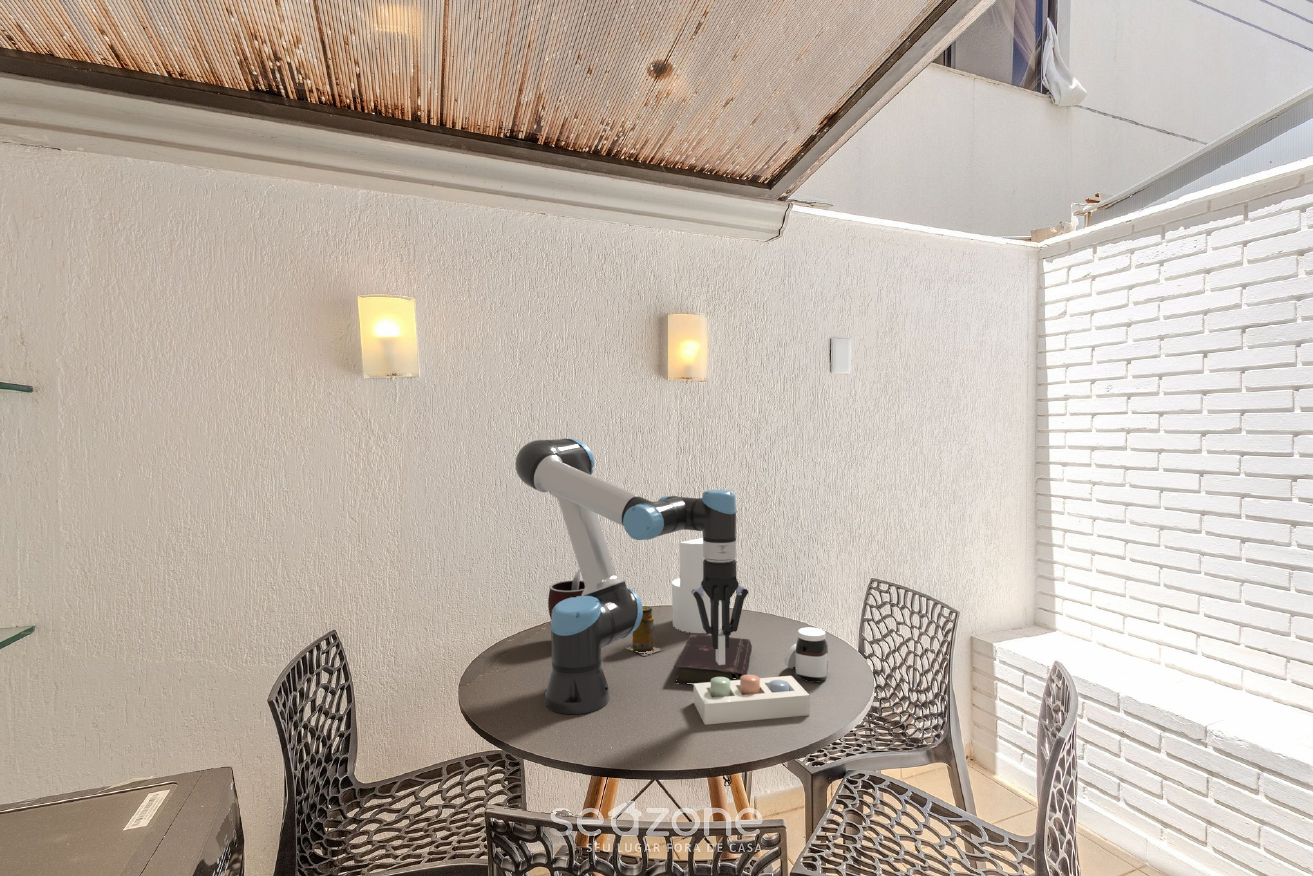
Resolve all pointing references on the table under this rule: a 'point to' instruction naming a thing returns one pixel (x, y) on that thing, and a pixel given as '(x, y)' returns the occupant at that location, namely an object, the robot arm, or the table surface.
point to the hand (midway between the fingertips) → (720, 662)
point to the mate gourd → (565, 591)
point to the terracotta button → (749, 684)
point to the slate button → (779, 686)
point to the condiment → (644, 633)
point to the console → (751, 702)
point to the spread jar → (809, 655)
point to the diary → (712, 660)
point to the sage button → (720, 687)
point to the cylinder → (690, 589)
